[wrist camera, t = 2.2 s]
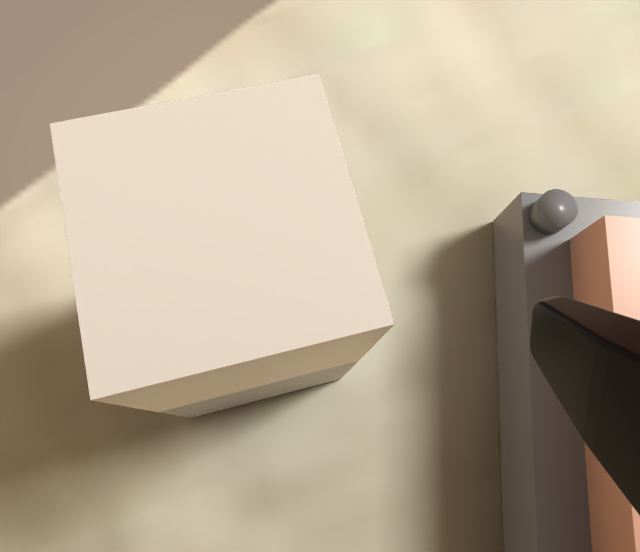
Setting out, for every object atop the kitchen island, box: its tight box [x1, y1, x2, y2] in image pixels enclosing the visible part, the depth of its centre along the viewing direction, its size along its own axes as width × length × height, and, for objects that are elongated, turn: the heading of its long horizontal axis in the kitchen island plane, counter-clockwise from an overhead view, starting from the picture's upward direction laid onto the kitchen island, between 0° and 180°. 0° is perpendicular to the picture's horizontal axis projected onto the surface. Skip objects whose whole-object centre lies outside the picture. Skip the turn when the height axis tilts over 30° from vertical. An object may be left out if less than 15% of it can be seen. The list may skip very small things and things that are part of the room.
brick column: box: [50, 74, 394, 418], centre depth 14 cm, size 5×5×10 cm
